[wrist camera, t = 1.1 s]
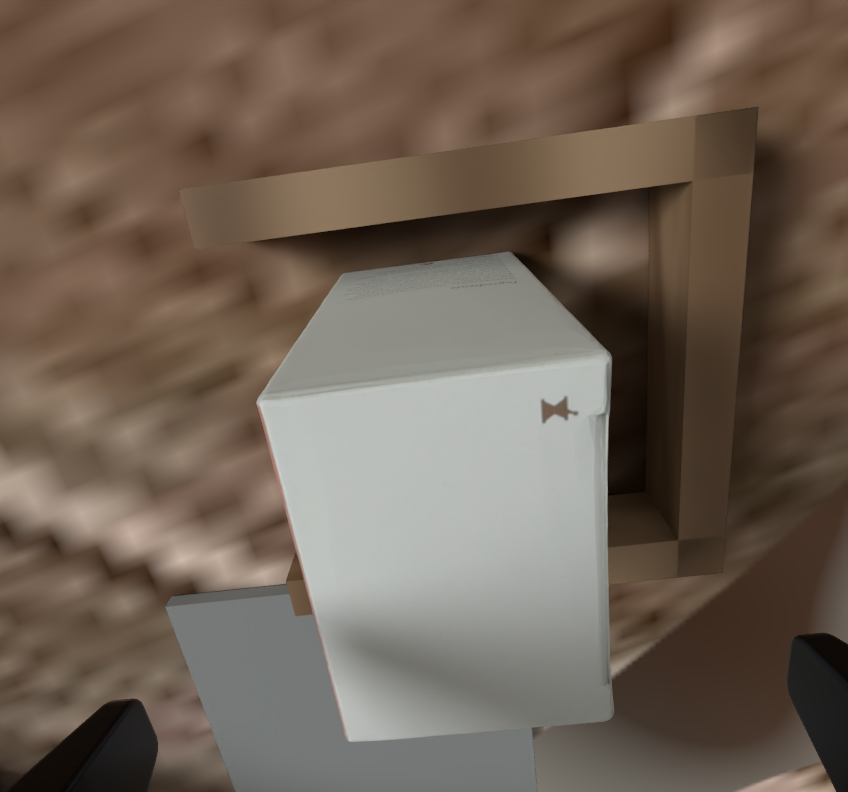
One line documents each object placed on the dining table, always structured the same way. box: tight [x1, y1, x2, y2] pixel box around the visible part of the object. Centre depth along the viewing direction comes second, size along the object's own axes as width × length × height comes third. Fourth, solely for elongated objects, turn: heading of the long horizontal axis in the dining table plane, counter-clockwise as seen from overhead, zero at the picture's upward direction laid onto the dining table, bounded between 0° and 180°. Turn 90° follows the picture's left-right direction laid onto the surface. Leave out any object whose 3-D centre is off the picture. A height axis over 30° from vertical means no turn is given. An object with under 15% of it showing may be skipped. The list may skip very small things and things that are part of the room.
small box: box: [256, 252, 614, 742], centre depth 15 cm, size 8×6×10 cm
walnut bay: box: [179, 107, 758, 616], centre depth 18 cm, size 14×14×3 cm
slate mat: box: [166, 584, 537, 792], centre depth 25 cm, size 14×14×1 cm
